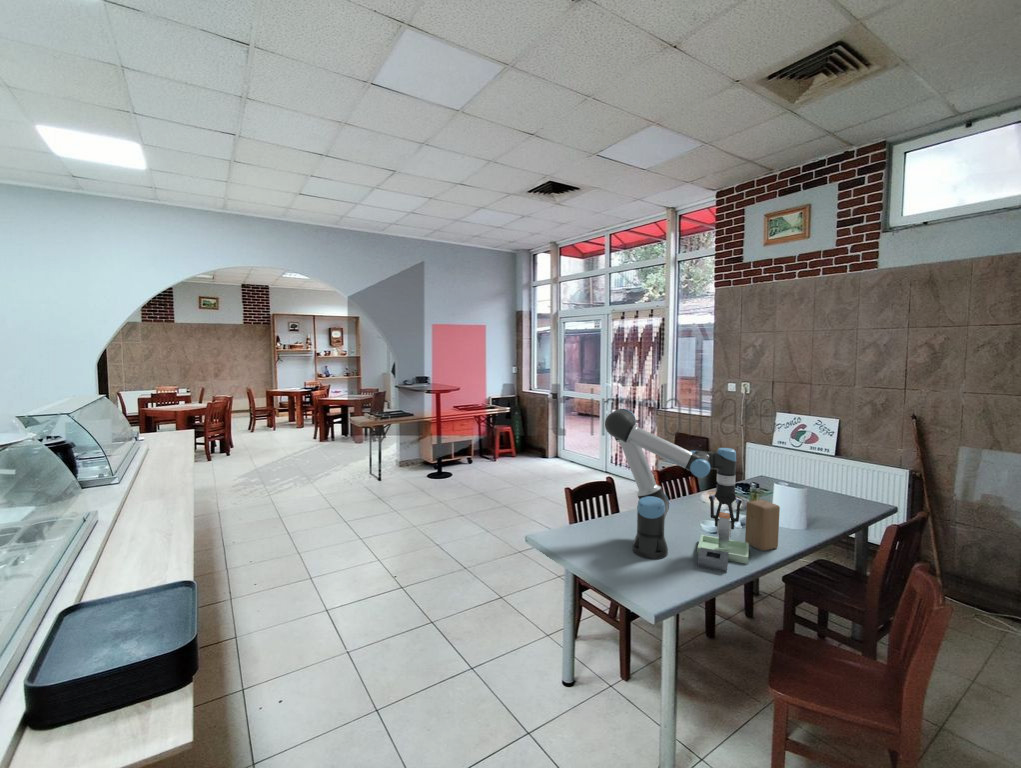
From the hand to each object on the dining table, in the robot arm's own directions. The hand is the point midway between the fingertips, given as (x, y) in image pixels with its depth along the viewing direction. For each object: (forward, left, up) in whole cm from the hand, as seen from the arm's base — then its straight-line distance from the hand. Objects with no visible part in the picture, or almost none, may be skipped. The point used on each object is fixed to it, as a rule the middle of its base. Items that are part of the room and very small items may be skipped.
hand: (724, 534), depth 208 cm
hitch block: (-3, -15, -8) cm, 17 cm away
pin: (0, 0, -6) cm, 6 cm away
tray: (0, 0, -8) cm, 8 cm away
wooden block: (+15, +15, -8) cm, 23 cm away
